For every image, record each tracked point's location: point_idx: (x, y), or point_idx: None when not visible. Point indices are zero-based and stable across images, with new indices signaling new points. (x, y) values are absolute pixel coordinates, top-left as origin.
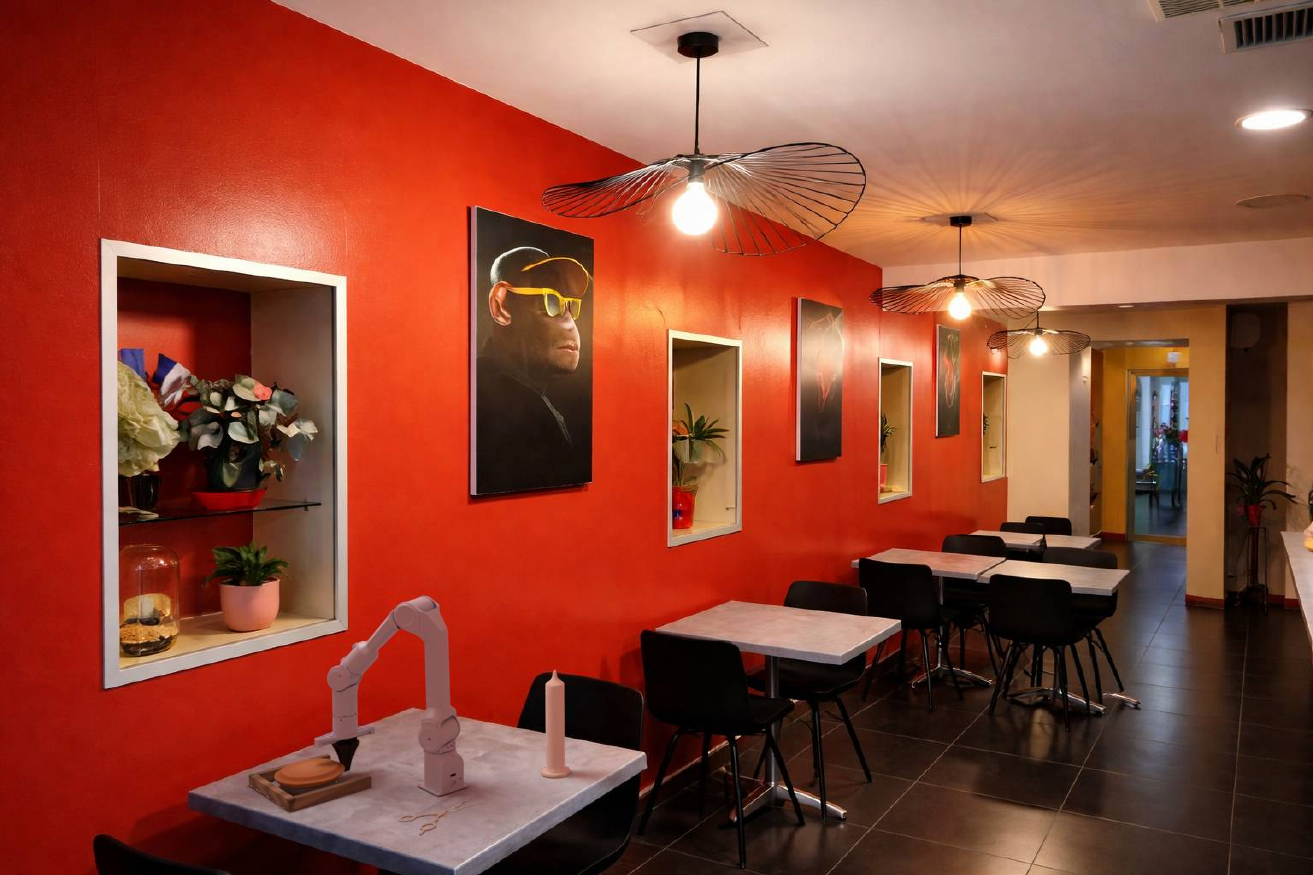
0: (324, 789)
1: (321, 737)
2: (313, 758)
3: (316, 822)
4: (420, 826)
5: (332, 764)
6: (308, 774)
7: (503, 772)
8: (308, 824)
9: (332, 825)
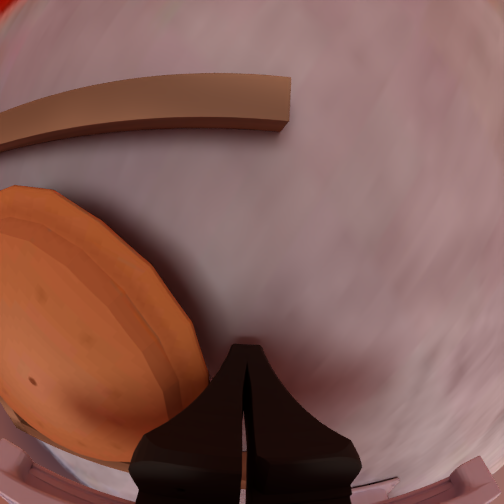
0: (91, 459)
1: (20, 498)
2: (164, 92)
3: (77, 469)
4: None
5: (135, 435)
6: (36, 421)
7: (444, 478)
8: (64, 463)
9: (101, 489)
